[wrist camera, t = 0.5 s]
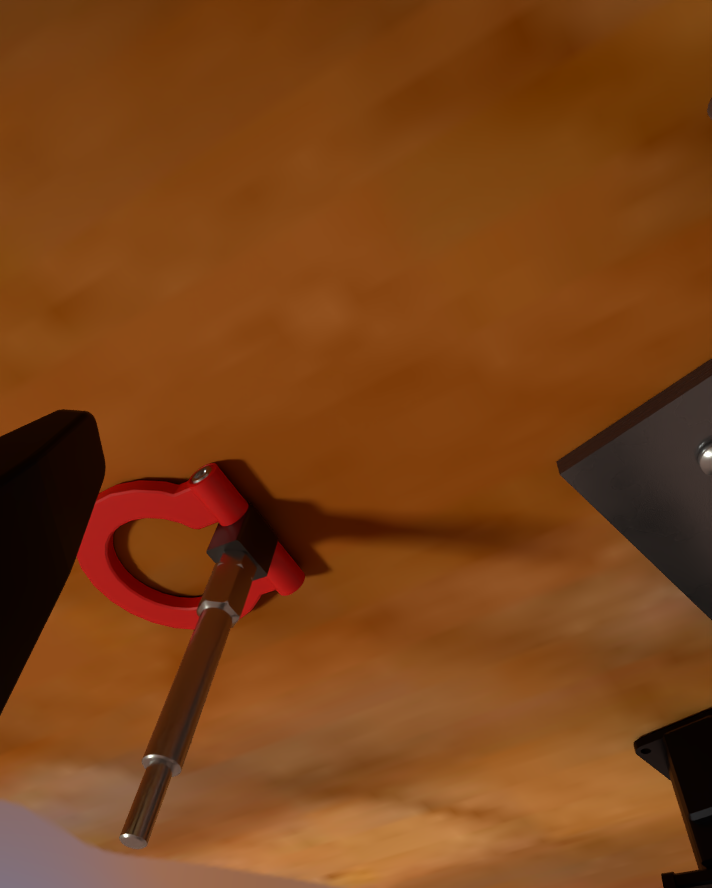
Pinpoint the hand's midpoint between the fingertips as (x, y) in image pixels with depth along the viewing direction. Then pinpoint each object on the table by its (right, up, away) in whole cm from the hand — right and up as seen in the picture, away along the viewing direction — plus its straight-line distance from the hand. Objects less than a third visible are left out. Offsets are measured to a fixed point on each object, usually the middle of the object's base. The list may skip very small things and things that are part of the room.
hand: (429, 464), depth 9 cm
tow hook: (-9, -4, +21) cm, 23 cm away
